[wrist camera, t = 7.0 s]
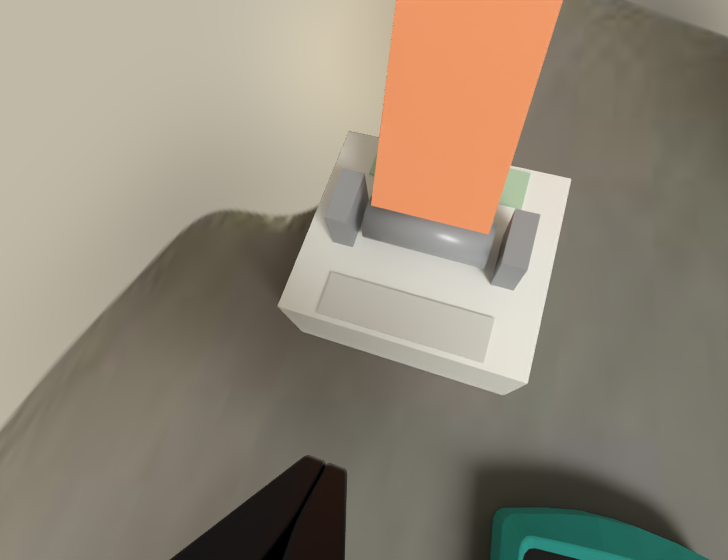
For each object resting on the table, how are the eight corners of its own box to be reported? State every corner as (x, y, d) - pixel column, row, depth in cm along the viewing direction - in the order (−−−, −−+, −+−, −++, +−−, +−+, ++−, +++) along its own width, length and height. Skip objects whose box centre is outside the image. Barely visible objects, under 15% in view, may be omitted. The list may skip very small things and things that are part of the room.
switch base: (503, 395, 18) (544, 374, 13) (302, 331, 20) (260, 288, 14) (541, 226, 21) (591, 145, 15) (359, 183, 22) (342, 96, 17)
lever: (481, 277, 15) (626, -167, 9) (359, 244, 16) (408, -181, 9) (486, 254, 16) (616, -150, 10) (373, 225, 17) (423, -164, 11)
